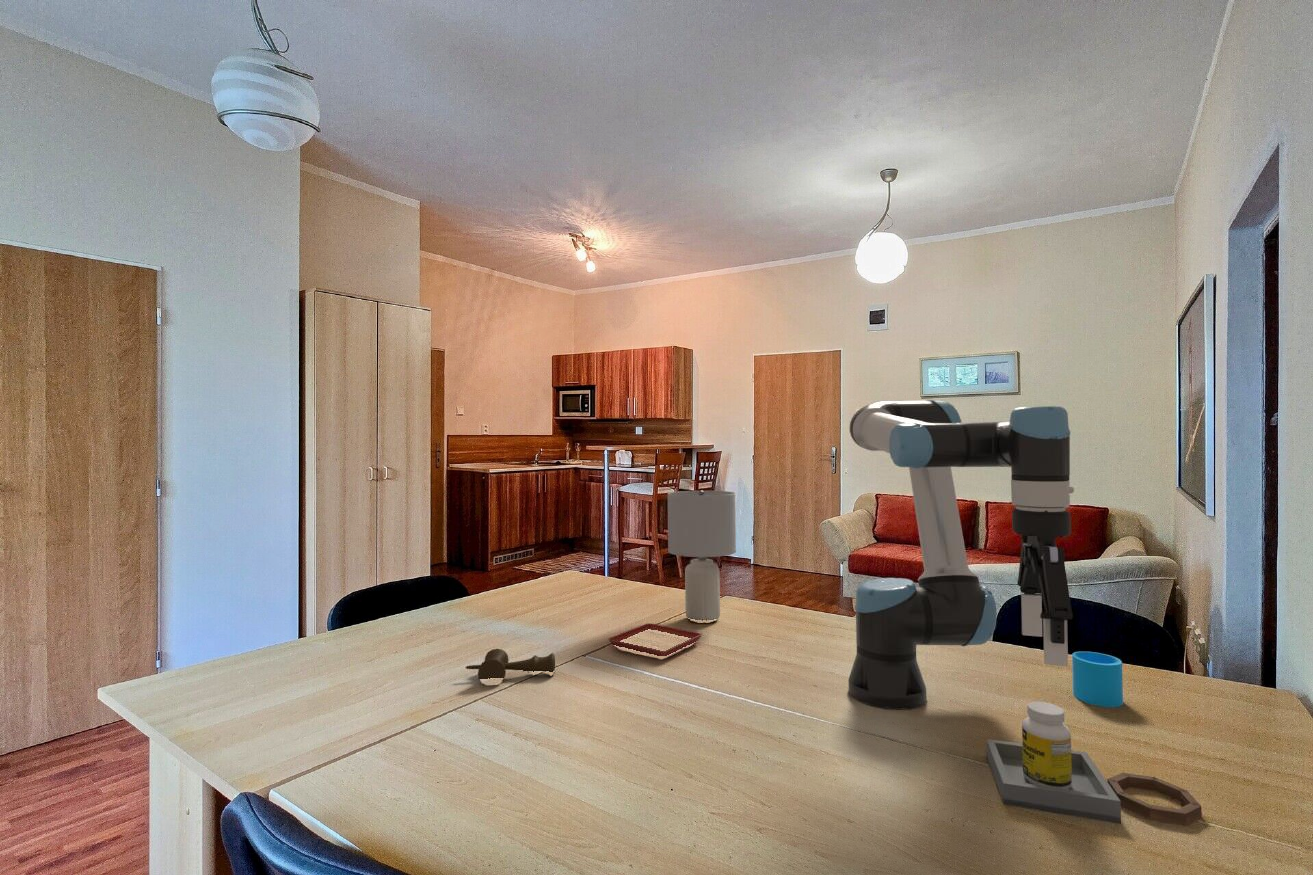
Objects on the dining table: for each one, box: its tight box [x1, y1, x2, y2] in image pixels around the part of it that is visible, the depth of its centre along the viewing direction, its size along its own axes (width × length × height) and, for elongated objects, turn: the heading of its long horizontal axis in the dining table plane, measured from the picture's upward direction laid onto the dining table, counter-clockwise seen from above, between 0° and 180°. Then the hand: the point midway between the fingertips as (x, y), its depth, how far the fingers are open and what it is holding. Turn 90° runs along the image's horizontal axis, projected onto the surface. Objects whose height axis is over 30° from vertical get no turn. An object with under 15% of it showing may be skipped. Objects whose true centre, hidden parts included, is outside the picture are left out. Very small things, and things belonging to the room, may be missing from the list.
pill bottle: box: [1021, 701, 1072, 790], centre depth 91 cm, size 6×6×11 cm
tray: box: [985, 738, 1122, 825], centre depth 91 cm, size 14×14×3 cm
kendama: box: [464, 648, 556, 680], centre depth 138 cm, size 6×10×20 cm
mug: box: [1071, 651, 1124, 708], centre depth 124 cm, size 12×8×8 cm
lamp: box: [667, 489, 737, 621], centre depth 183 cm, size 20×20×39 cm
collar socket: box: [1106, 772, 1203, 827], centre depth 87 cm, size 10×10×2 cm
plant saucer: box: [607, 623, 703, 656], centre depth 158 cm, size 18×18×3 cm
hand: (1043, 649), depth 92 cm, fingers open, 13 cm apart
